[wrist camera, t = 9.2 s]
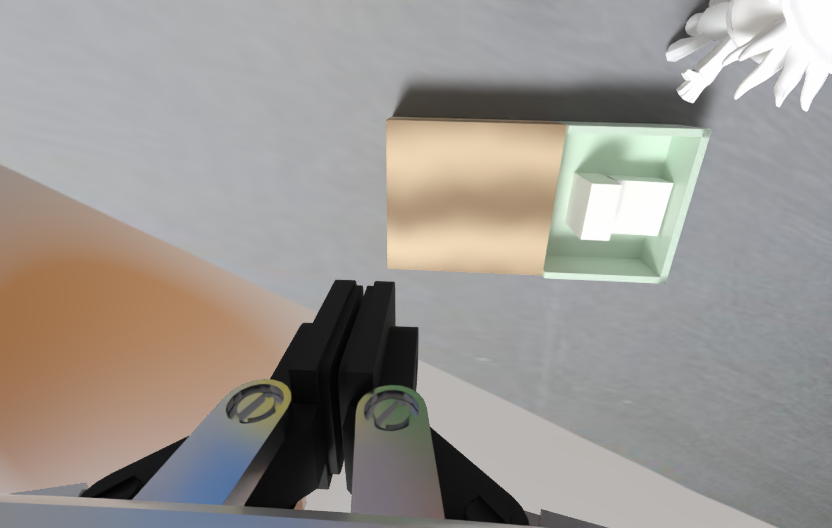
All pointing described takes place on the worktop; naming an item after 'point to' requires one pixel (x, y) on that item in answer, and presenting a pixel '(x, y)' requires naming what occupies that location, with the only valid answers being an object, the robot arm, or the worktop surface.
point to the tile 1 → (592, 206)
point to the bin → (628, 156)
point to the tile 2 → (640, 204)
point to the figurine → (760, 45)
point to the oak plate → (471, 193)
